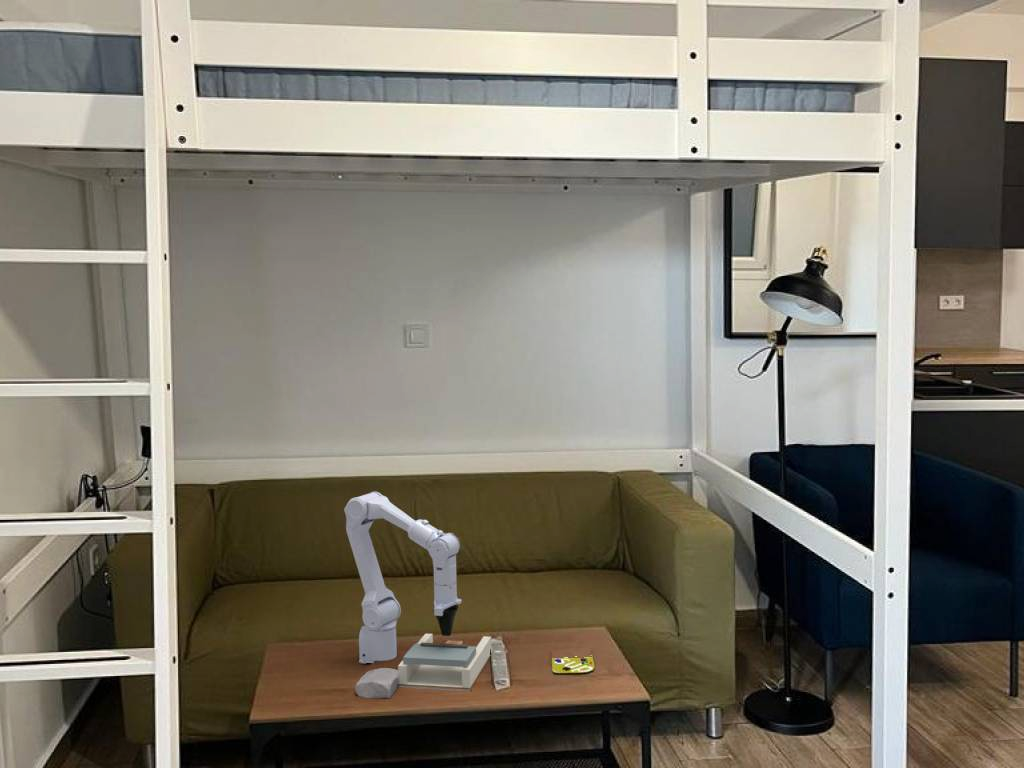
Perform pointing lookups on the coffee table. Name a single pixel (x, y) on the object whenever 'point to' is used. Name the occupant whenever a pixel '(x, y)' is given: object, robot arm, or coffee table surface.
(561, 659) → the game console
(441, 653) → the slide cover
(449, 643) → the block
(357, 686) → the stone block
